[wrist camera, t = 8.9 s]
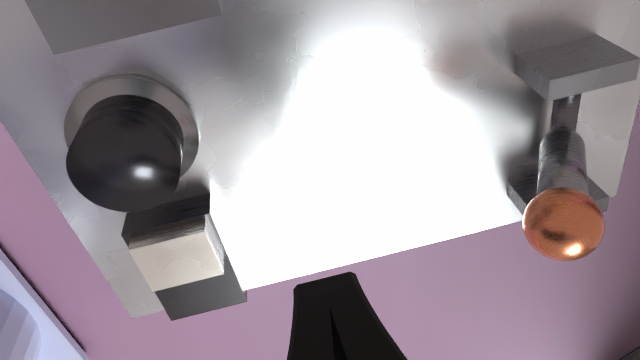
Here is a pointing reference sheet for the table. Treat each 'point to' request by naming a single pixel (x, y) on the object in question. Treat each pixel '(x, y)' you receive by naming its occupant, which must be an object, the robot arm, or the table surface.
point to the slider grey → (112, 19)
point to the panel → (309, 132)
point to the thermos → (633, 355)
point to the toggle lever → (563, 192)
